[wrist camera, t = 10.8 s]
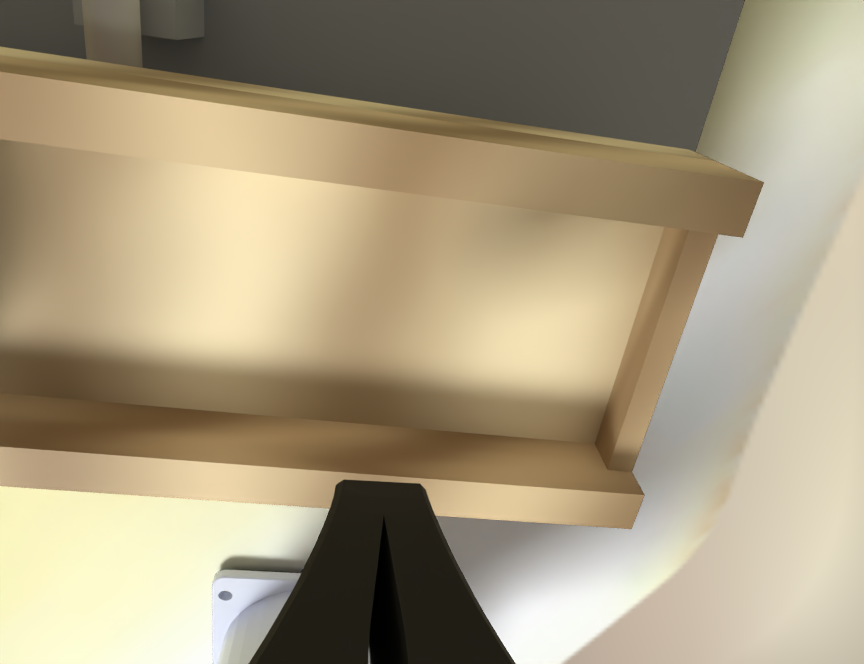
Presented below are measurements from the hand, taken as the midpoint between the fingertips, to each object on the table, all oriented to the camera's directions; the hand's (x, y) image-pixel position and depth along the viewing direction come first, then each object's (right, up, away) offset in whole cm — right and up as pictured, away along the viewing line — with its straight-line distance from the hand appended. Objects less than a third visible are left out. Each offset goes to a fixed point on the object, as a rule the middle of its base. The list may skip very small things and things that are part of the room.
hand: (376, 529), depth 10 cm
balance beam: (-6, +6, +6) cm, 11 cm away
